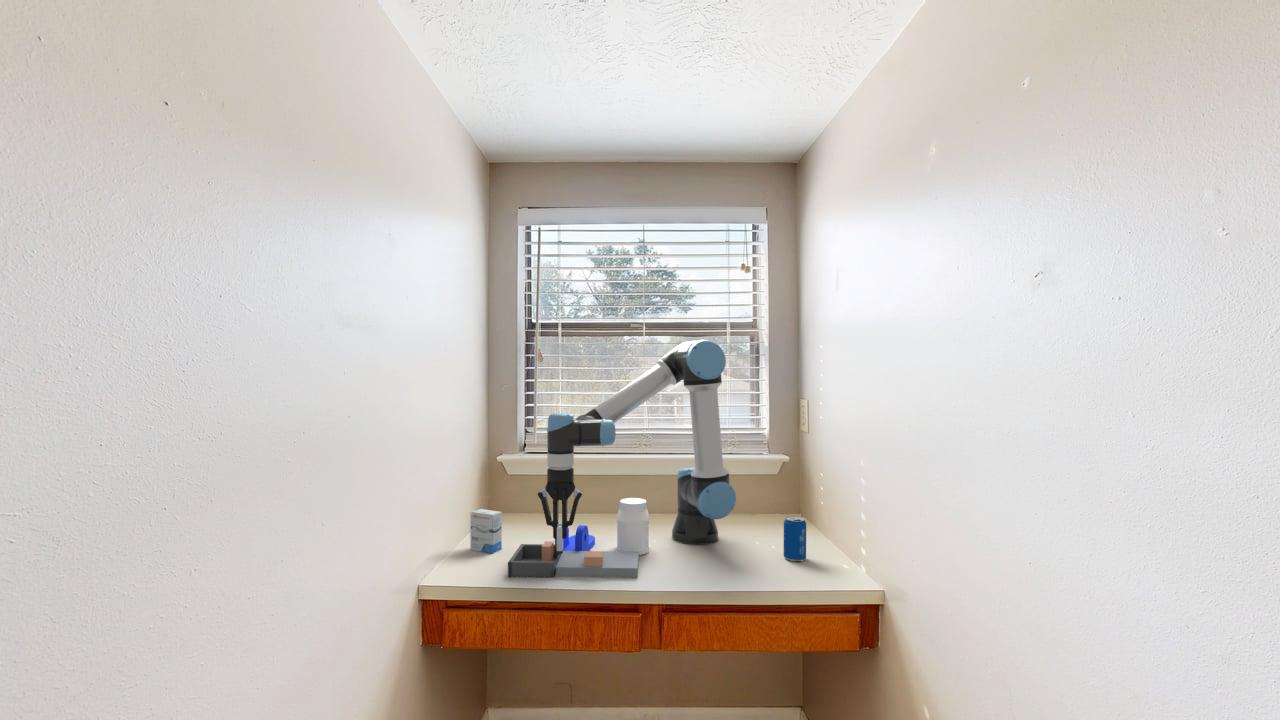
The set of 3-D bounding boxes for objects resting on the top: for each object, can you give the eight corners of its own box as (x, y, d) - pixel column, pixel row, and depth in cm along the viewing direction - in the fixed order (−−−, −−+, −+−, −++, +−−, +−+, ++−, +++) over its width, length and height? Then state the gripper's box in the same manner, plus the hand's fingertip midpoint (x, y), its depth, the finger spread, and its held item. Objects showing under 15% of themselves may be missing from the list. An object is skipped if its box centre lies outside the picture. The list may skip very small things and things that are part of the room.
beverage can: (793, 564, 174) (794, 522, 174) (778, 557, 180) (779, 517, 180) (810, 560, 177) (811, 519, 177) (795, 554, 183) (795, 514, 183)
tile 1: (553, 541, 176) (545, 541, 176) (550, 546, 171) (541, 546, 171) (553, 558, 176) (544, 558, 176) (550, 564, 171) (541, 564, 171)
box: (562, 558, 178) (563, 544, 178) (554, 577, 162) (554, 562, 162) (521, 557, 179) (521, 544, 179) (507, 577, 163) (508, 562, 163)
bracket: (581, 559, 178) (582, 529, 178) (554, 557, 179) (554, 527, 179) (598, 541, 195) (598, 513, 195) (573, 540, 197) (573, 512, 197)
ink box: (502, 549, 186) (502, 511, 186) (492, 554, 182) (492, 514, 182) (480, 545, 190) (480, 508, 190) (469, 550, 185) (469, 511, 185)
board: (638, 560, 177) (638, 551, 177) (637, 577, 163) (637, 568, 163) (563, 559, 177) (563, 550, 177) (555, 576, 163) (555, 567, 163)
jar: (648, 555, 181) (649, 505, 181) (616, 555, 181) (617, 505, 181) (648, 543, 193) (648, 496, 193) (617, 543, 193) (618, 496, 193)
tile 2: (603, 560, 169) (604, 551, 169) (602, 566, 164) (602, 557, 164) (586, 560, 169) (586, 551, 169) (584, 566, 164) (584, 557, 164)
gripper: (584, 465, 177) (584, 545, 177) (540, 464, 178) (539, 545, 178) (581, 470, 170) (581, 554, 170) (535, 469, 170) (534, 553, 170)
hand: (560, 549), depth 174 cm, fingers closed
